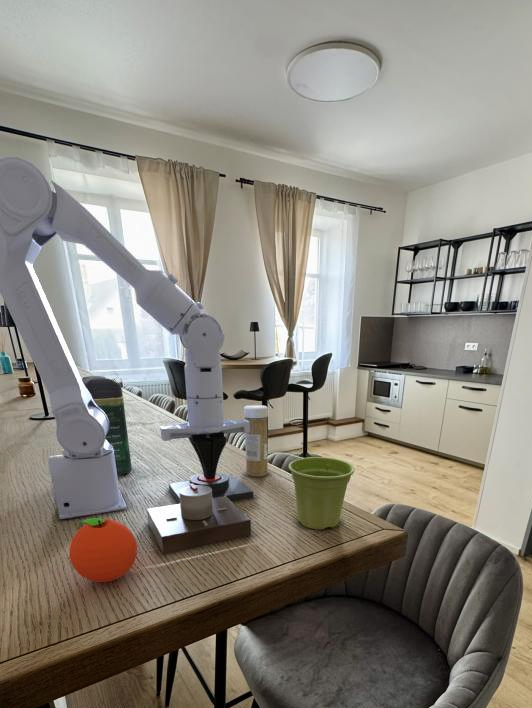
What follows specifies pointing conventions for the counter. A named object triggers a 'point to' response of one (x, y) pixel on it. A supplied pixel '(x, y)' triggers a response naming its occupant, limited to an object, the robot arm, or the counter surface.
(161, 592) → the counter surface
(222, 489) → the switch block
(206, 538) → the dimmer plate
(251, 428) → the spice jar
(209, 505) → the dial
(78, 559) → the clementine
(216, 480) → the switch button
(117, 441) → the coffee jar
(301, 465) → the plant pot
